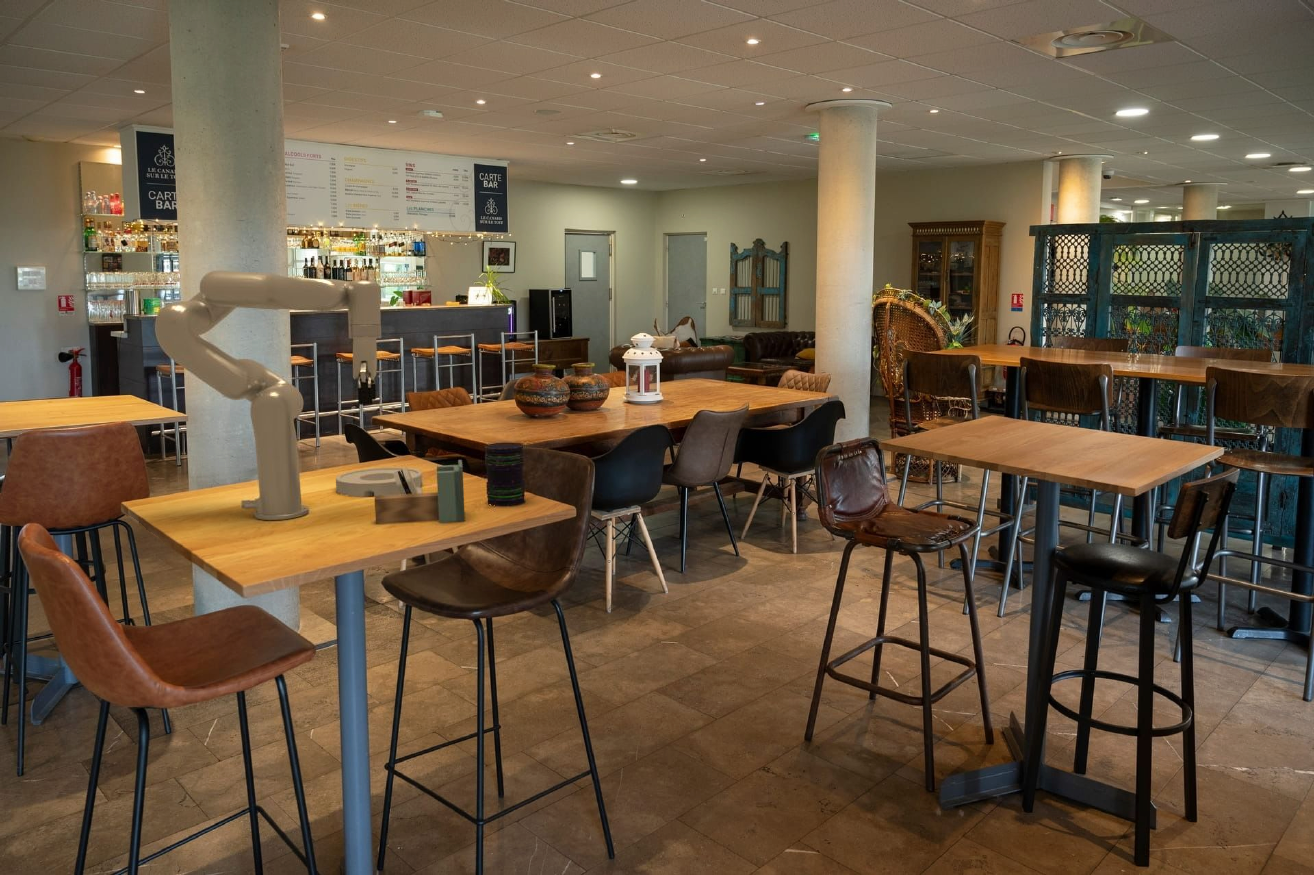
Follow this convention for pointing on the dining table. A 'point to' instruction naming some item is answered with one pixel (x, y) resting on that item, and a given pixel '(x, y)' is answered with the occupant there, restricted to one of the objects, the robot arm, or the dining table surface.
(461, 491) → the u-shaped channel piece
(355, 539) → the dining table surface
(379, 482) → the ashtray
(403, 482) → the grey layered block
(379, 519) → the brown wooden block
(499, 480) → the storage jar
